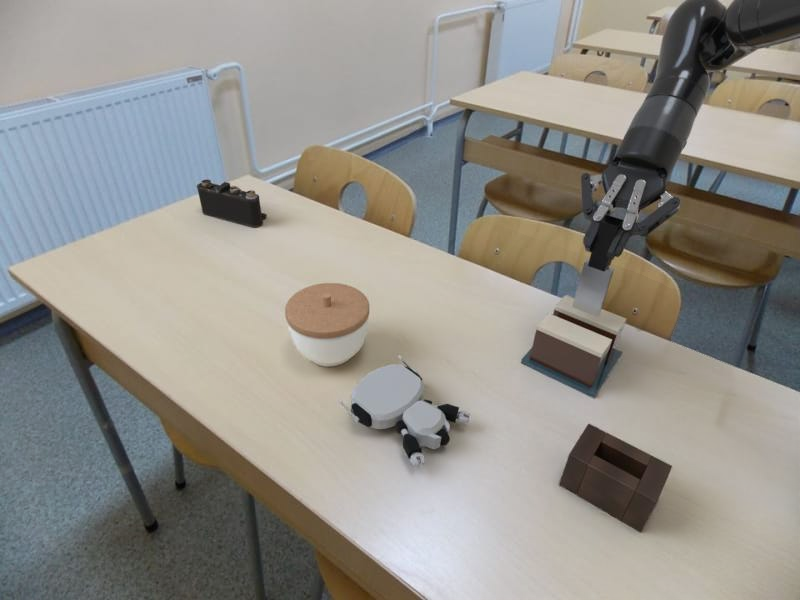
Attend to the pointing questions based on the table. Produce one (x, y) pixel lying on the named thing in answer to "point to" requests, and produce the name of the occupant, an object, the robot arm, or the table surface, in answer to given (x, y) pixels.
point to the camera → (230, 203)
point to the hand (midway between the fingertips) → (599, 253)
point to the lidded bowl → (328, 322)
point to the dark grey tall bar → (597, 269)
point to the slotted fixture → (576, 346)
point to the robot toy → (403, 409)
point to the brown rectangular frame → (615, 476)
